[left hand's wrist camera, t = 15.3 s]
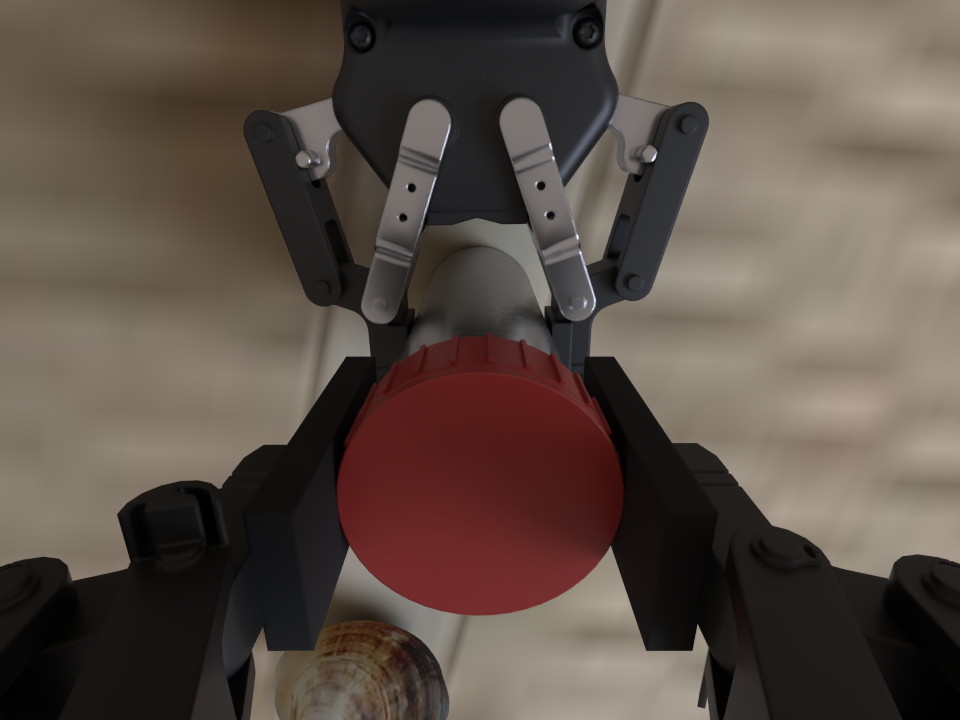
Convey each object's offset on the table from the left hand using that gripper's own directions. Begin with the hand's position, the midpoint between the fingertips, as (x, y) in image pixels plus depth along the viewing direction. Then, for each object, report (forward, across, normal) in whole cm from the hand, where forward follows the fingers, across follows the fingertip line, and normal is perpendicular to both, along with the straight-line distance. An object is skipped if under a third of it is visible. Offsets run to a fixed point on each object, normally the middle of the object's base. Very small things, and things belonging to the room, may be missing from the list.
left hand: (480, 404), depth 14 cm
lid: (-4, 0, 0) cm, 4 cm away
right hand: (+5, 0, -3) cm, 6 cm away
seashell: (+12, -6, -20) cm, 24 cm away
